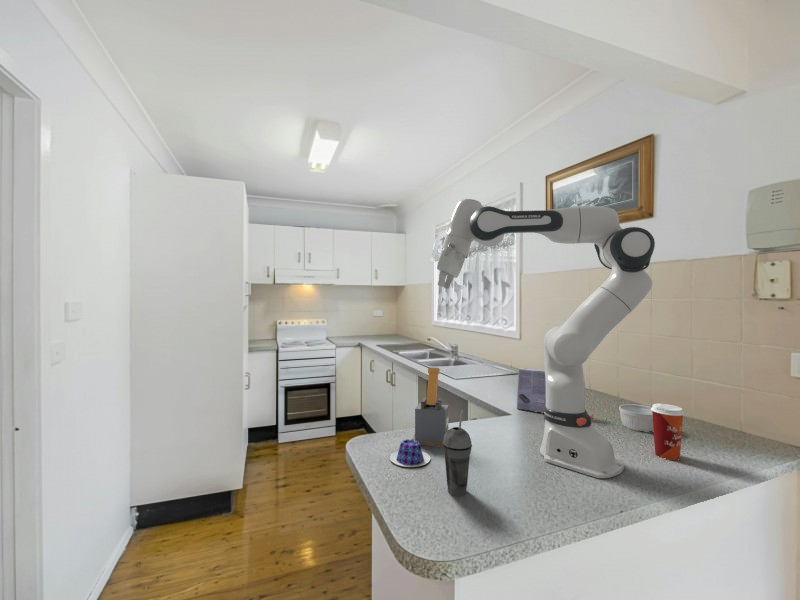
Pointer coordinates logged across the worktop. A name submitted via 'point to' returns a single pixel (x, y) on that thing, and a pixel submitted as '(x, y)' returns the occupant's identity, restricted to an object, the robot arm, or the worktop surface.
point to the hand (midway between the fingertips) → (443, 287)
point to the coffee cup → (667, 430)
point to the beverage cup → (457, 459)
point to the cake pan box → (531, 390)
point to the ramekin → (637, 417)
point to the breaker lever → (432, 387)
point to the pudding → (410, 454)
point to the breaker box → (431, 423)
